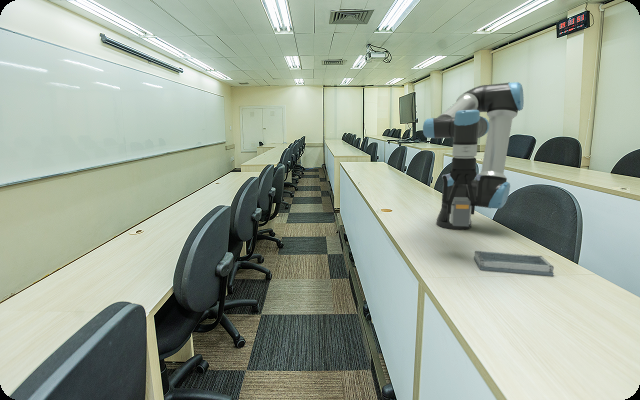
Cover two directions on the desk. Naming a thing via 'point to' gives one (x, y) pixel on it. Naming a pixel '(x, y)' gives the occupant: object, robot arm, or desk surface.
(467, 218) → the block
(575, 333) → the desk surface
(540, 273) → the shallow grey tray
